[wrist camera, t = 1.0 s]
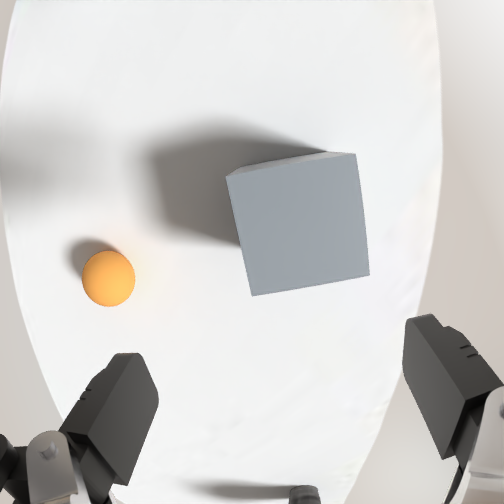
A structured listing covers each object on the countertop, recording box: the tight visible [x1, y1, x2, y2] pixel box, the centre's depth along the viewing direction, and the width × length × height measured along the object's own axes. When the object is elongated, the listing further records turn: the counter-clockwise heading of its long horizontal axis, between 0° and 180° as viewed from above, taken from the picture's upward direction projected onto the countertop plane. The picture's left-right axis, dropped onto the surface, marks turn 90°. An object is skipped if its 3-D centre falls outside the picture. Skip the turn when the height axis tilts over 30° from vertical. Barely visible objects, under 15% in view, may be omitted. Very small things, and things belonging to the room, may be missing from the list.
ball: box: [82, 251, 135, 307], centre depth 27 cm, size 5×5×5 cm
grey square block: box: [225, 152, 370, 296], centre depth 22 cm, size 7×7×9 cm
